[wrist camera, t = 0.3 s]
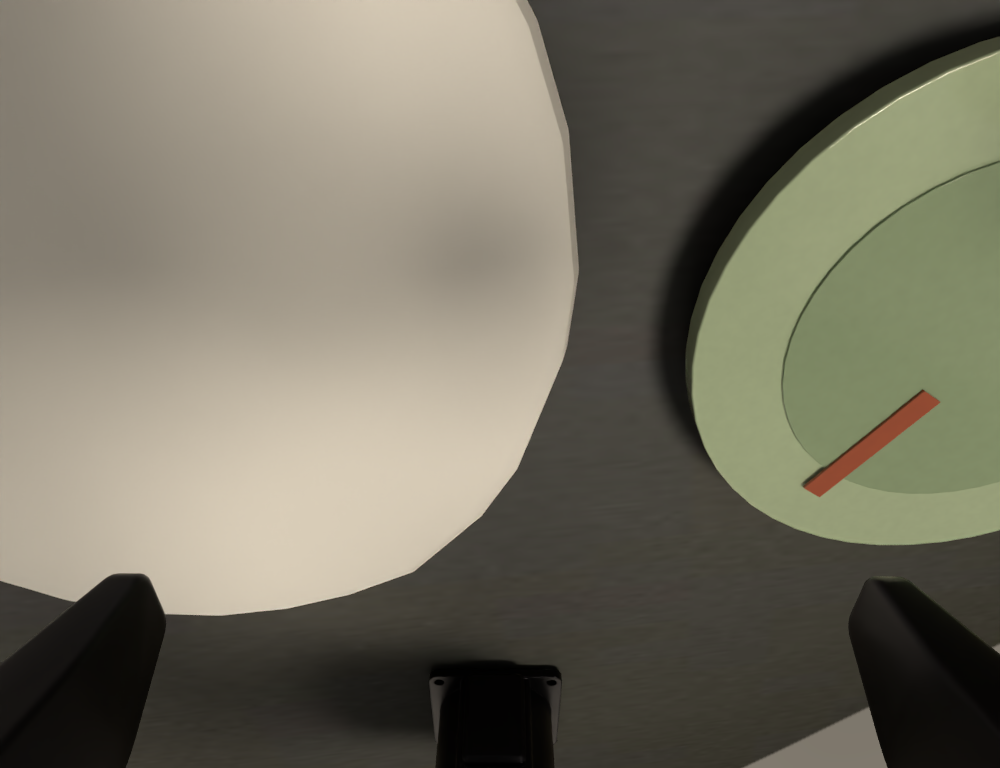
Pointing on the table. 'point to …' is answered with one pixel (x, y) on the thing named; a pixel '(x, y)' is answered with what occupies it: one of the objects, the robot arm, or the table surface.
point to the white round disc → (271, 288)
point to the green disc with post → (866, 320)
